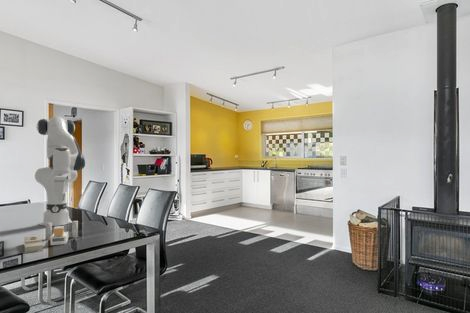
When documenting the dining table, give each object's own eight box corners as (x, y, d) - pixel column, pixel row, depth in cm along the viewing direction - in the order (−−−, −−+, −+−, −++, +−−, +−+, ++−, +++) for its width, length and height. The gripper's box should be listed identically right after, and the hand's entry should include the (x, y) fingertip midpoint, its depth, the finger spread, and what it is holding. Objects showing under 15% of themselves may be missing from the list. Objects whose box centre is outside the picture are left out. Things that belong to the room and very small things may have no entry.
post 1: (46, 238, 170) (46, 222, 170) (52, 238, 171) (52, 222, 171) (45, 240, 167) (45, 223, 168) (51, 239, 169) (51, 223, 169)
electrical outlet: (24, 245, 145) (24, 237, 160) (24, 253, 145) (24, 244, 159) (42, 242, 149) (40, 235, 164) (42, 251, 149) (40, 242, 164)
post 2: (72, 236, 175) (72, 221, 175) (78, 236, 176) (78, 220, 176) (71, 237, 172) (71, 222, 173) (77, 237, 174) (77, 221, 174)
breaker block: (54, 239, 169) (54, 232, 169) (68, 238, 171) (68, 231, 171) (50, 245, 158) (50, 237, 158) (65, 244, 160) (65, 236, 160)
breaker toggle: (54, 235, 161) (54, 226, 161) (63, 234, 163) (63, 226, 163) (54, 236, 159) (54, 227, 159) (62, 235, 161) (62, 227, 161)
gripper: (58, 176, 178) (57, 199, 177) (52, 177, 159) (52, 204, 158) (70, 175, 180) (70, 199, 180) (65, 177, 161) (65, 203, 161)
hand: (61, 201), depth 169 cm, fingers open, 8 cm apart
